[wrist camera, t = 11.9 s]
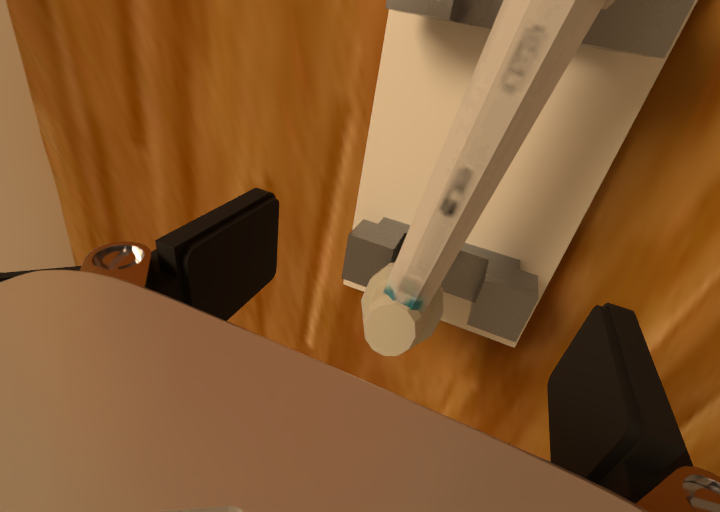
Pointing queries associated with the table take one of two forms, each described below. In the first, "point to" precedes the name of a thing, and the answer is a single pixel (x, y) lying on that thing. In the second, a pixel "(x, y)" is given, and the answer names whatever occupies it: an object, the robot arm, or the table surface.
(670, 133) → the table surface
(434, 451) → the robot arm
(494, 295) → the v blocks
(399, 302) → the white handheld device
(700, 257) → the table surface
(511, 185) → the stand board
